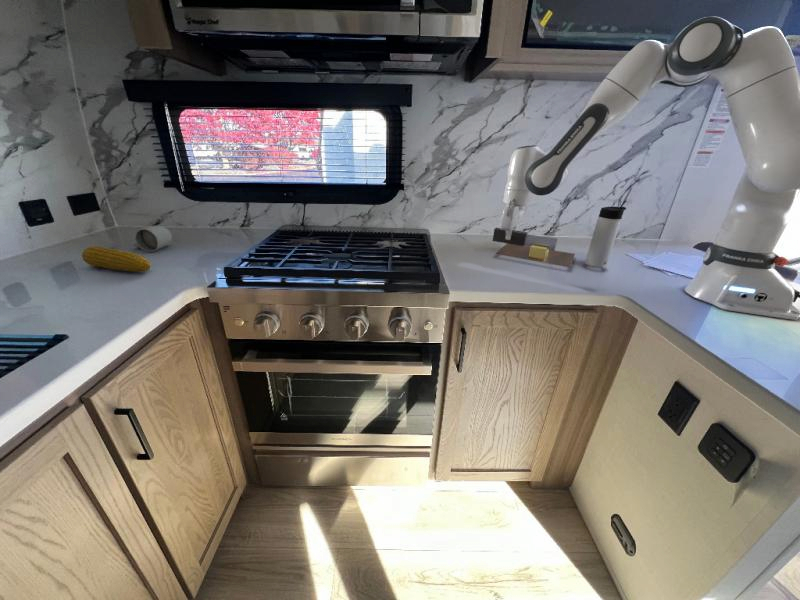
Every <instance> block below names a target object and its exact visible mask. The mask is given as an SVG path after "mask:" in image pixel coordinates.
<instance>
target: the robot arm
mask: <svg viewBox="0 0 800 600" xmlns="http://www.w3.org/2000/svg"><path fill="white" fill-rule="evenodd" d="M709 77H713V78H715V79H716V80H717V81H718V82H719V83H720V85H721V87H722V90H723V94H724V98H725V102H726V105H727V110H728V113H729V116H730V120H731V124H732V126H733V127H732V128H733V130H734V133H735V136H736V138H737V141H738V144H739V146H740V147H739V148H740V149H741V150H740V151H741V153H742V156H743V159H744V163H745V167H744V169H743V171H742V174H741V176H740V178H739V181H738V184H737V186H736V188H735V190H734V194H733V196H732V199H731V201H730V204H729V207H728V209H727V212H726V214H725V217H724V219H723V221H722V223H721V225H720V227H719V230H718V232H717V234H716V236H715V238H714V241H711V243H710V245H709V246H708V248H707V249H706V251H705V254H704V256H703V259H702V264H701V266H700V268H699V269H698V270H697V272H696V274H695V275H694V277H693V278H692V279H691V281H689V283H688V284H687V285H686V286H685V287H684V292H685V293H687V294H688V295H689V296H692V297H693V298H696V299H697V300H700V301H703V302H705V303H709V304H711V305H713V306H714V307H717V308H720V309H721V310H724V311H729V312H730V311H731V312H738V313H742V314H743V313H744V314H751V315H756V316H757V315H758V316H764V317H772V318H778V319H785V320H792V321H798V320H799V319H800V310H799V309H798V308H797V307H795V306H794V305H793V303H796V301H797V299H800V291H798V290H797V289H795V288H794V287H793V286H792V285H791V284H790V282H788V280H786V278H784V276H783V275H782V274H780V272H779V271H777V270H776V268H775V267H776V266H778V267H779V268H781V267H785V266H788V264H789V260H788V259H787V258H785V257H784V256H780V255H778V254H777V253H775V252H773V251H774V249H775V248H776V246H777V244H778V243H779V240H780V238H781V237H782V235H783V233H784V231H785V229H786V227H787V225H788V224H789V221H790V220H791V215H792V211H793V209H794V206H795V204H796V202H797V198H798V196H799V193H800V74H799V70H798V66H797V63H796V58H795V56H794V54H793V51H792V49H791V47H790V44H789V42H788V41H787V39H786V37H785V36H784V34H783V32H782V31H781V29H779V28H778V27H776V26H762V27H758V28H756V29H753V30H751V31H749V32H746V33H745V31H744V30H743V29H742V28H740V27H738V26H737V25H734V24H733V23H731V22H730V21H728V20H726V19H724V18H722V17H719V16H712V15H711V16H705V17H702V18H699V19H696V20H694V21H693V22H691V23H690V24H688V25H687V26H685V27H684V28H683V29H682V30H681V31H680V32H679V33H678V34H677V35H676V37H675V38H674V40H673V41H672V43H669V44H665V43H662V42H661V41H658V40H655V39H646V40H642V41H639V42H638V43H637V44H636V45H635V46H634V47H632V49H630V50H629V51H628V52H627V53H626V54H625V55H624V56H623V57H622V58H621V60H619V61H618V63H616V64H615V66H614V67H613V68H612V69H611V70H610V72H608V74H607V75H606V76H605V78H604V79H603V80H602V82H601V83H600V84H599V85H598V86H597V88H596V89H595V91H594V92H593V93H592V95H591V96H590V98H589V100H588V102H587V103H586V105H585V107H584V108H583V110H582V111H581V113H580V115H579V116H578V117H577V119H576V120H575V122H574V123H573V124H572V126H570V128H569V129H568V130H567V131H566V133H564V135H563V136H562V137H561V138H560V139H559V141H558V142H557V143H556V144H555V146H554V147H553V148H552V149H551V150H550V151H549V152H548V153H547V152H545V151H544V150H542V149H541V148H540V146H538V145H537V144H536V145H525V146H520V147H517V148H515V149H514V150H513V151H512V154H511V155H510V160H509V164H508V169H507V173H506V174H507V175H506V176H507V181H506V184H505V187H504V192H503V198H502V203H504V204H505V206H504V207H503V211H502V216H501V220H500V224H499V228H500V229H502V230H506V237H505V239H506V240H510V239H511V237H512V230H515V231H517V226H518V225H519V224H521V223H522V222H523V220H524V218H525V215H526V212H527V209H528V206H529V205H530V204H531V199H532V194H533V195H536V196H547V195H550V194H551V193H553V192H555V190H556V189H559V187H561V186H562V185H564V183H565V182H566V181H567V178H568V175H569V168H568V166H569V165H570V164H571V162H573V161H574V159H575V158H576V157H577V156H578V155H579V154H580V152H582V150H583V149H584V148H585V147H586V146H587V145H588V144H589V143H590V142H591V141H592V140H593V139H594V138H595V137H596V136H598V135H599V134H601V133H603V132H604V131H606V130H608V129H610V128H611V127H613V126H615V125H617V123H619V122H620V121H621V120H623V119H624V118H625V117H626V116H627V115H628V114H630V112H632V110H633V109H634V108H635V107H636V106H637V105H638V104H639V103H640V102H641V100H642V99H644V97H645V96H646V95H647V94H648V92H649V91H650V90H652V88H654V87H655V86H656V85H657V84H659V83H660V84H663V85H664V84H665V85H669V86H673V87H678V88H688V87H692V86H695V85H699V84H700V83H702V82H704V81H705V80H707V79H709Z"/></svg>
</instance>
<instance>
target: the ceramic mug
mask: <svg viewBox="0 0 800 600" xmlns="http://www.w3.org/2000/svg"><path fill="white" fill-rule="evenodd" d="M134 241H135V243H134V247H135V248H136V249H140V250H142V251H144V252H147V253H153V252H156V251H158V250H161V249H163V248H166V247H168V246H169V245H171V244H172V242H173V233H172V232H171V231H170V229H168V228H167V227H165V226H163V225H152V226H149V227H142V228H139V229H138V230H136V232H135V235H134Z"/></svg>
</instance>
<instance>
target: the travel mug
mask: <svg viewBox="0 0 800 600" xmlns="http://www.w3.org/2000/svg"><path fill="white" fill-rule="evenodd" d="M626 210H627V207H625V206H603V207H601V208H600V211H599V214H598V217H597V220H596V224H595V227H594V230H593V234H592V237H591V240H590V243H589V247H588V250H587V254H586V257H585V261H584V263H585V264H586V265H588V266H590V267H595V268H602V271H603V272H604V271H605V270H606V268H607V265H608V262H609V260H610V256H611V253H612V250H613V247H614V245H615V244H614V243H615V240H616V237H617V235H618V231H619V228H620V225H621V222H622V218H623V215H624V212H625V211H626Z"/></svg>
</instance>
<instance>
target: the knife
mask: <svg viewBox="0 0 800 600" xmlns="http://www.w3.org/2000/svg"><path fill="white" fill-rule="evenodd" d="M505 237H506V230H502V229H500V227H495V228H494V229H493V235H492V242H497V243H502V244H507V243H508V244H514V245H519V246H530V247H531V246H532V245H537V246H543V247H547V249H548V250H554V251H556V248H557V242H558V238H554V237H548V236H542V235H535V234H529V233H528V232H527V231H521V230H512V237H511V239H510V240H506V239H505Z"/></svg>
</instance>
